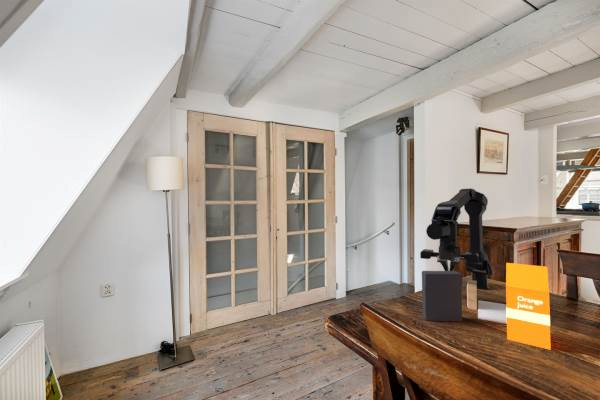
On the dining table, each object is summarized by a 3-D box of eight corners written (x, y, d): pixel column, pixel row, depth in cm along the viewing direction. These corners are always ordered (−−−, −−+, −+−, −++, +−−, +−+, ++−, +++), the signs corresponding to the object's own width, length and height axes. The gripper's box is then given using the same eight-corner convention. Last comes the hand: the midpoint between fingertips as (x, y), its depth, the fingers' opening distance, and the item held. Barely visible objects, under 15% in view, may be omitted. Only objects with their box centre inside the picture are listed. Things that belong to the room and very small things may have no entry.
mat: (478, 301, 102) (478, 300, 102) (534, 309, 94) (534, 308, 94) (477, 318, 87) (477, 317, 87) (544, 330, 78) (544, 329, 78)
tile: (468, 301, 102) (467, 279, 102) (477, 302, 101) (476, 280, 101) (467, 308, 96) (466, 285, 96) (476, 310, 94) (476, 286, 94)
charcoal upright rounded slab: (456, 316, 89) (455, 270, 89) (463, 322, 85) (462, 273, 85) (421, 315, 90) (420, 270, 90) (426, 321, 86) (425, 273, 86)
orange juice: (508, 328, 80) (506, 260, 80) (549, 338, 74) (547, 264, 75) (506, 339, 74) (505, 265, 74) (551, 350, 68) (549, 270, 69)
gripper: (417, 238, 101) (418, 280, 101) (477, 241, 91) (478, 288, 90) (422, 234, 110) (423, 273, 110) (477, 237, 100) (479, 280, 100)
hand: (449, 278), depth 102 cm, fingers closed
